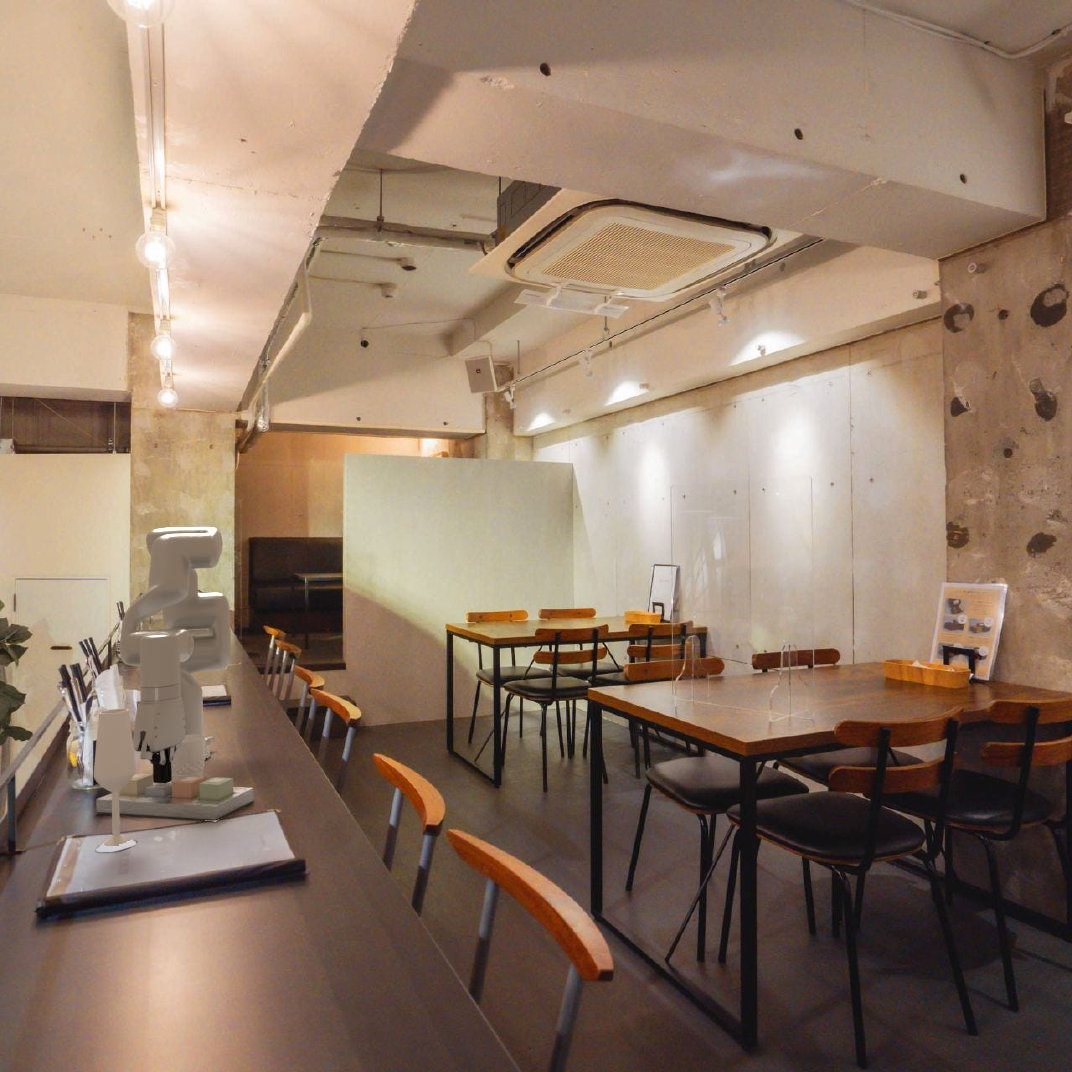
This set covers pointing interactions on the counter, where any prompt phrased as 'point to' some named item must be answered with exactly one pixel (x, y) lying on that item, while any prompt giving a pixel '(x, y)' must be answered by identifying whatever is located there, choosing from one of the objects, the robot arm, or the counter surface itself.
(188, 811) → the keyguard pad
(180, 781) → the key
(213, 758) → the counter surface
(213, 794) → the key
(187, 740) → the white cup
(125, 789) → the key
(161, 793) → the key
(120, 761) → the champagne flute
